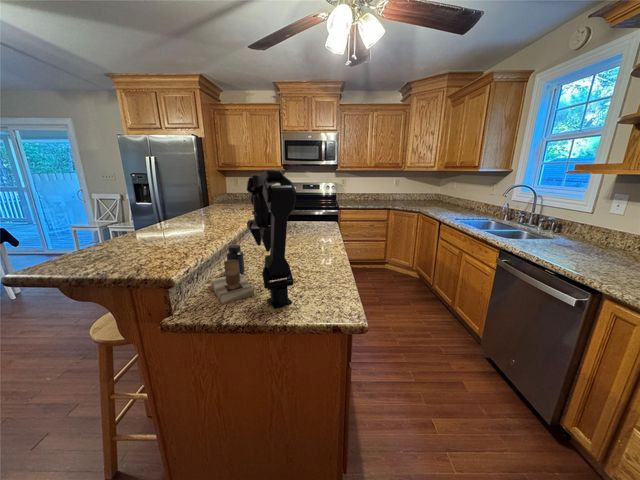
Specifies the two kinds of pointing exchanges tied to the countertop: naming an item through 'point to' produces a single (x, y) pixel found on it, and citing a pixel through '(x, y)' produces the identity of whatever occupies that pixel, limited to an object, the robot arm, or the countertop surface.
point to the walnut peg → (232, 274)
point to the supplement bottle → (236, 256)
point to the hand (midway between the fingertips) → (263, 248)
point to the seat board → (225, 296)
